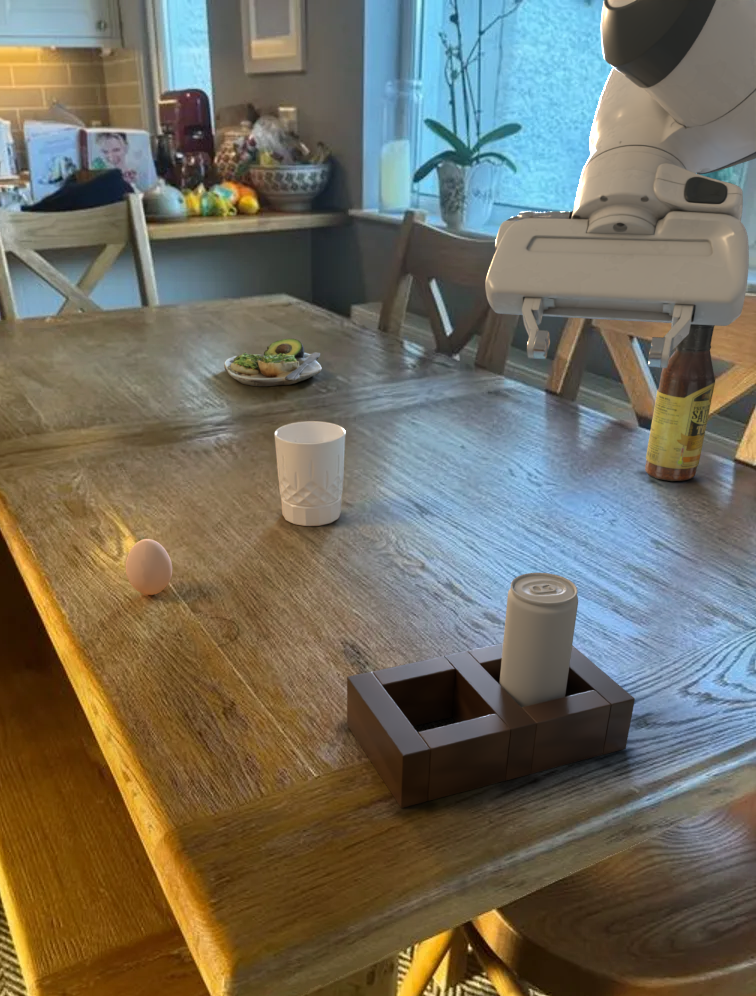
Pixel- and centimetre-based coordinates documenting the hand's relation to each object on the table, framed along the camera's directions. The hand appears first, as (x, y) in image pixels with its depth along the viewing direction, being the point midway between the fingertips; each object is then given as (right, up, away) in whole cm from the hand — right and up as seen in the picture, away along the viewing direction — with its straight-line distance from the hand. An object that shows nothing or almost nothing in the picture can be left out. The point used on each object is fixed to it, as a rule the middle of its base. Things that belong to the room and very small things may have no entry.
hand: (595, 359), depth 72 cm
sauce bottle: (+23, -4, +41) cm, 47 cm away
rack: (-10, -30, -5) cm, 32 cm away
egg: (-38, -19, +17) cm, 46 cm away
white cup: (-23, -10, +33) cm, 41 cm away
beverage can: (-6, -29, -4) cm, 30 cm away
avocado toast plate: (-29, +21, +88) cm, 95 cm away
